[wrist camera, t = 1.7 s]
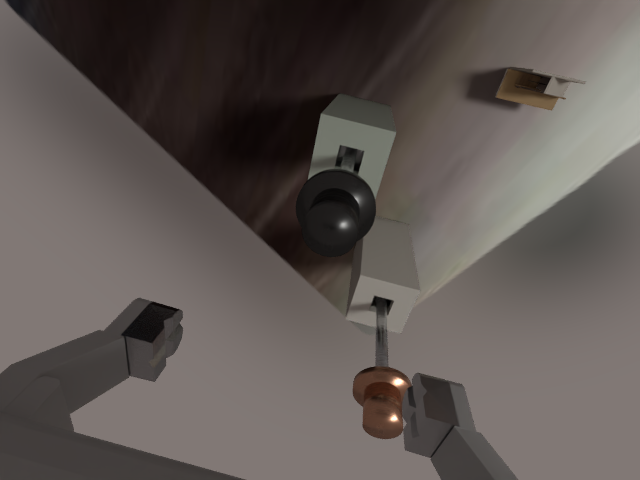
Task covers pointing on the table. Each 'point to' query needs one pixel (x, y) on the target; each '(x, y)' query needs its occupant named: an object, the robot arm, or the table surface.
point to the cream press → (383, 274)
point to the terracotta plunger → (381, 385)
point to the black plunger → (336, 206)
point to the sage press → (355, 136)
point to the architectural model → (533, 87)
